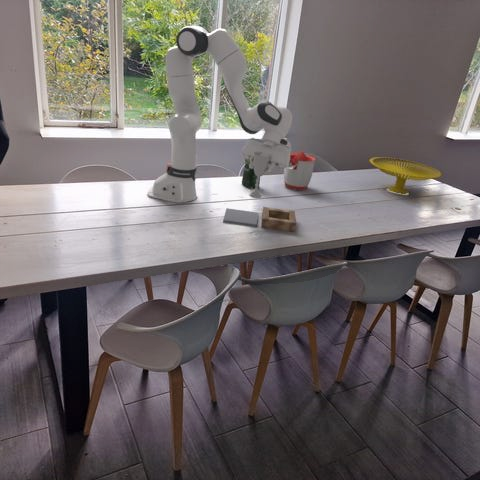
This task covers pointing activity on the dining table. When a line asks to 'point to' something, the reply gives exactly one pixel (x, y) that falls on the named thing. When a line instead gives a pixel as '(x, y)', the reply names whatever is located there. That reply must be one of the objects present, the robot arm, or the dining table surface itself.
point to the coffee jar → (249, 175)
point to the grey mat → (240, 217)
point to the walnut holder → (278, 219)
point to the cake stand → (403, 172)
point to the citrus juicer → (299, 171)
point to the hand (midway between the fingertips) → (259, 170)
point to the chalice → (259, 171)
